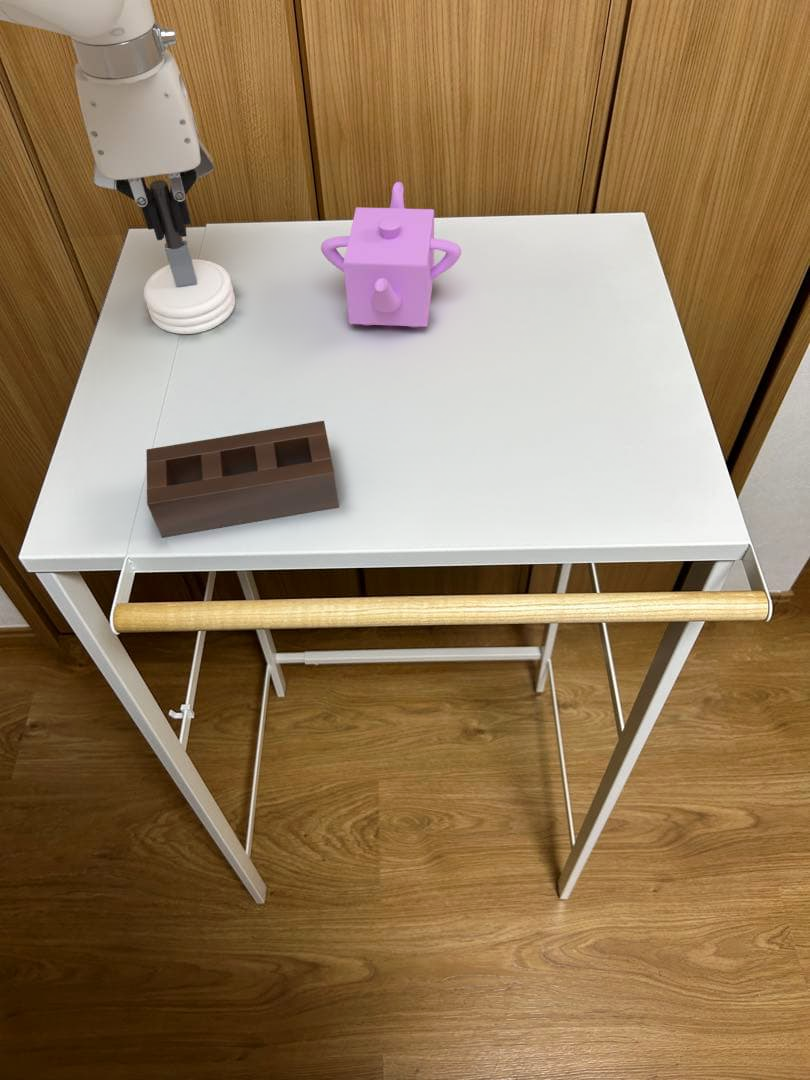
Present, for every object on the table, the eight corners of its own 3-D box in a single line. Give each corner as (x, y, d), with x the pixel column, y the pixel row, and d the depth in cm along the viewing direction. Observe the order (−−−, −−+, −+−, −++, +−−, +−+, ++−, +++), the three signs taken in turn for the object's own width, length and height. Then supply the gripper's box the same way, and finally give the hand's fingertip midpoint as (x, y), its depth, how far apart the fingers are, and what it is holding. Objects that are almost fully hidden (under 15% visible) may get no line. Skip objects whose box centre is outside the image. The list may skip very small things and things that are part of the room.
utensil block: (339, 507, 79) (334, 472, 75) (161, 537, 78) (146, 504, 74) (329, 455, 83) (323, 420, 79) (160, 483, 82) (146, 449, 78)
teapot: (479, 316, 95) (483, 231, 86) (383, 365, 91) (378, 281, 82) (402, 253, 103) (399, 170, 94) (310, 296, 98) (298, 212, 90)
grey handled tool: (197, 286, 95) (170, 187, 85) (176, 289, 94) (146, 190, 85) (196, 276, 96) (169, 178, 86) (175, 279, 95) (146, 181, 86)
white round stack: (228, 275, 101) (222, 250, 98) (242, 325, 96) (236, 300, 93) (146, 291, 100) (138, 266, 97) (155, 344, 94) (146, 319, 91)
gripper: (204, 21, 78) (242, 202, 93) (32, 41, 76) (98, 222, 91) (209, 57, 73) (247, 241, 88) (26, 79, 72) (96, 262, 87)
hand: (171, 230), depth 89 cm, fingers closed on grey handled tool
